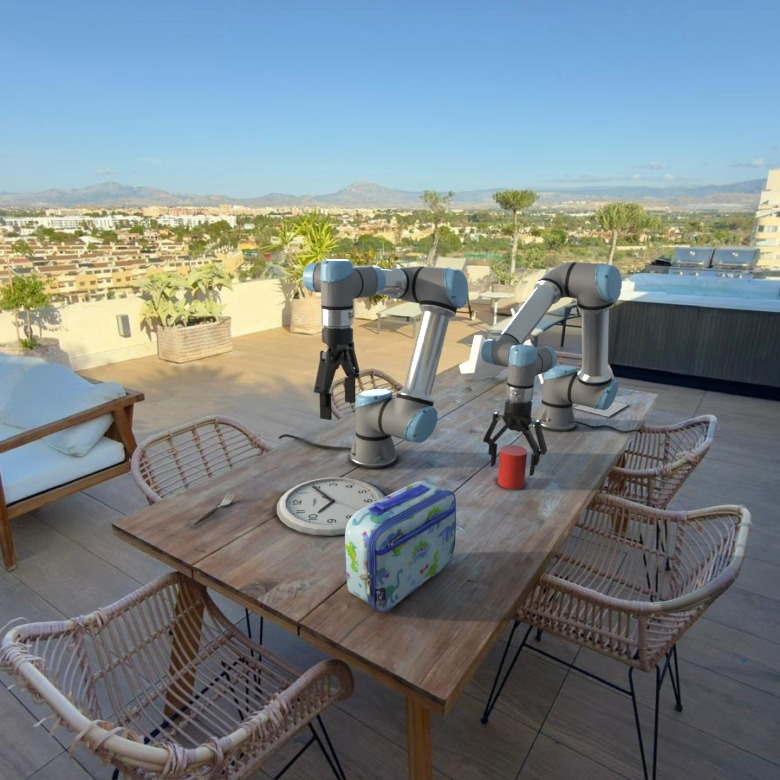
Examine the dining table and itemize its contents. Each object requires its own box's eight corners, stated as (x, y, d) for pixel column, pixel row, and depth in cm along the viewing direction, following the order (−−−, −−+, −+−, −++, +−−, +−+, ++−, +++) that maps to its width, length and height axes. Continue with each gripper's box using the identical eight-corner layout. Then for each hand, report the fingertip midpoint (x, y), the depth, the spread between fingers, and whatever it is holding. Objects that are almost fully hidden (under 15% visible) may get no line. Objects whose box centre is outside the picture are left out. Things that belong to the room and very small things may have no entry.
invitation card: (608, 416, 214) (573, 407, 224) (608, 416, 214) (573, 408, 224) (628, 404, 229) (594, 396, 238) (628, 405, 229) (594, 397, 238)
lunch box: (374, 626, 100) (375, 530, 93) (338, 598, 107) (337, 508, 101) (459, 568, 117) (465, 484, 111) (424, 547, 124) (427, 467, 118)
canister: (501, 489, 153) (504, 455, 150) (495, 477, 160) (497, 444, 157) (527, 489, 153) (530, 455, 150) (520, 477, 161) (523, 445, 158)
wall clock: (392, 527, 129) (268, 531, 127) (391, 533, 130) (269, 537, 127) (383, 473, 158) (282, 475, 155) (383, 478, 158) (282, 480, 156)
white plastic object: (480, 421, 262) (459, 398, 238) (462, 347, 285) (440, 320, 260) (552, 397, 250) (537, 370, 226) (527, 322, 272) (511, 290, 248)
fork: (190, 525, 132) (189, 518, 131) (229, 496, 146) (228, 490, 145) (198, 527, 131) (198, 520, 130) (237, 498, 145) (236, 491, 145)
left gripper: (327, 337, 112) (329, 429, 118) (372, 319, 134) (371, 397, 141) (296, 334, 115) (300, 424, 121) (345, 317, 137) (346, 394, 143)
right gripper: (475, 396, 151) (470, 465, 158) (557, 410, 140) (549, 484, 147) (483, 389, 158) (478, 456, 164) (563, 403, 147) (555, 473, 153)
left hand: (338, 410), depth 131 cm, fingers open, 13 cm apart
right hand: (512, 469), depth 156 cm, fingers open, 11 cm apart
